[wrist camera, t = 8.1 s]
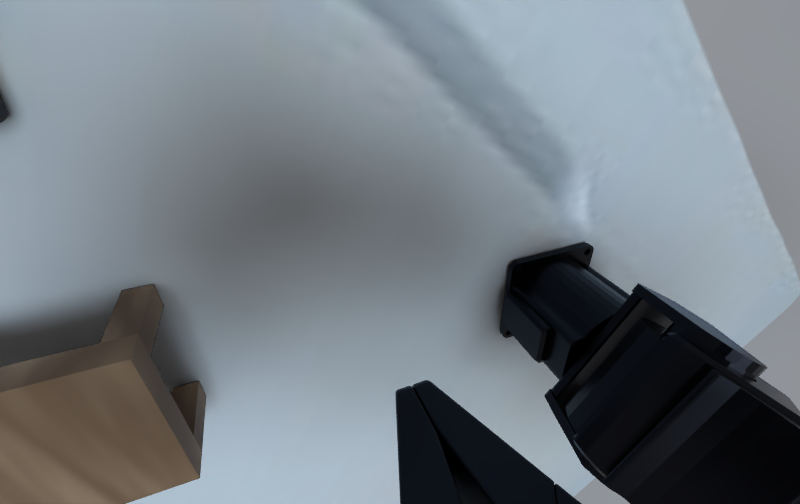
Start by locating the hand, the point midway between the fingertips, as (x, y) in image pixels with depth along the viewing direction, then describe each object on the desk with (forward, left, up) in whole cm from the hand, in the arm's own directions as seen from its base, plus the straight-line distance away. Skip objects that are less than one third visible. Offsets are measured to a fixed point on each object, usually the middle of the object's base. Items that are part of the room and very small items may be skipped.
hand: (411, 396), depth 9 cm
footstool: (+8, +6, -9) cm, 14 cm away
